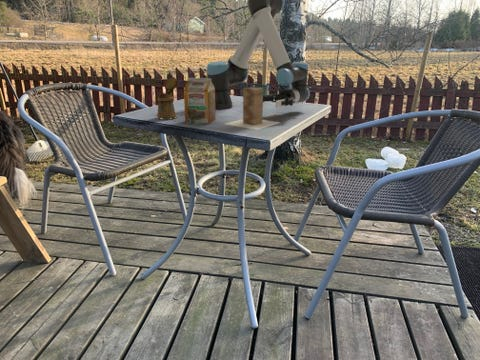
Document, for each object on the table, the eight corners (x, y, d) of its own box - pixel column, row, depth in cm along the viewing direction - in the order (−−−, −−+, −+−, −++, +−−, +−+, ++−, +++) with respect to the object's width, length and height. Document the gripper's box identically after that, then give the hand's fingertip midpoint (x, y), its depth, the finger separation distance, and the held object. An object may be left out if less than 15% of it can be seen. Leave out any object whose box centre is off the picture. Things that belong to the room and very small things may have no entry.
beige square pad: (223, 124, 162) (223, 123, 162) (248, 117, 175) (248, 117, 175) (256, 130, 152) (256, 129, 152) (281, 123, 165) (281, 122, 165)
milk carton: (215, 120, 170) (214, 77, 164) (208, 125, 161) (207, 79, 154) (193, 119, 172) (191, 76, 166) (185, 123, 163) (183, 79, 156)
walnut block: (243, 123, 163) (243, 88, 158) (251, 121, 167) (251, 87, 162) (254, 125, 160) (254, 89, 154) (262, 123, 164) (263, 88, 159)
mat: (260, 118, 174) (260, 118, 174) (274, 114, 183) (274, 114, 183) (281, 122, 167) (281, 121, 167) (295, 118, 176) (295, 117, 176)
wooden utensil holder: (183, 115, 181) (182, 76, 175) (170, 120, 169) (168, 79, 163) (167, 114, 184) (165, 76, 177) (153, 119, 172) (150, 79, 165)
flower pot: (266, 102, 219) (267, 86, 215) (251, 101, 220) (252, 86, 217) (268, 100, 227) (269, 85, 223) (254, 99, 228) (254, 84, 225)
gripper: (311, 107, 175) (287, 114, 160) (267, 102, 190) (241, 107, 174) (312, 91, 172) (288, 96, 157) (267, 87, 187) (241, 91, 171)
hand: (263, 102), depth 165 cm, fingers open, 13 cm apart
